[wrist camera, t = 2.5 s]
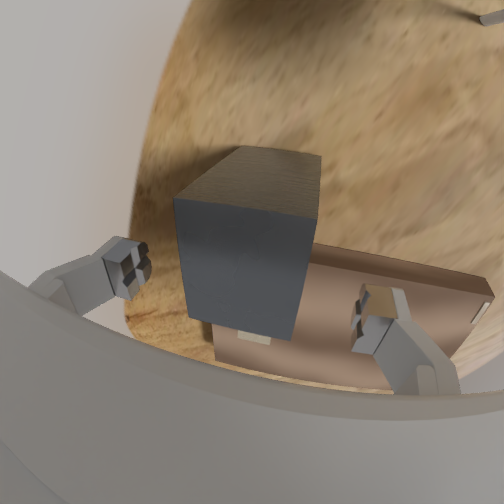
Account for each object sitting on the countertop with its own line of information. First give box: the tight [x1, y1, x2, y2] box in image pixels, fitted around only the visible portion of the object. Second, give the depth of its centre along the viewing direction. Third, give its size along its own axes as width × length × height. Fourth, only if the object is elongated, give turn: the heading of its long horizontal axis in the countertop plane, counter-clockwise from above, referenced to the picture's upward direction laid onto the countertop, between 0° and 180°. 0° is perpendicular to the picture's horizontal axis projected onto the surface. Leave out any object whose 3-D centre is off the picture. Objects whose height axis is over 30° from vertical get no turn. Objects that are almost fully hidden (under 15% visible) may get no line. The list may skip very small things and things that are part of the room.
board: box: [212, 243, 495, 390], centre depth 18 cm, size 12×19×2 cm, turn 87°
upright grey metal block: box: [173, 146, 321, 345], centre depth 13 cm, size 10×4×7 cm, turn 177°
